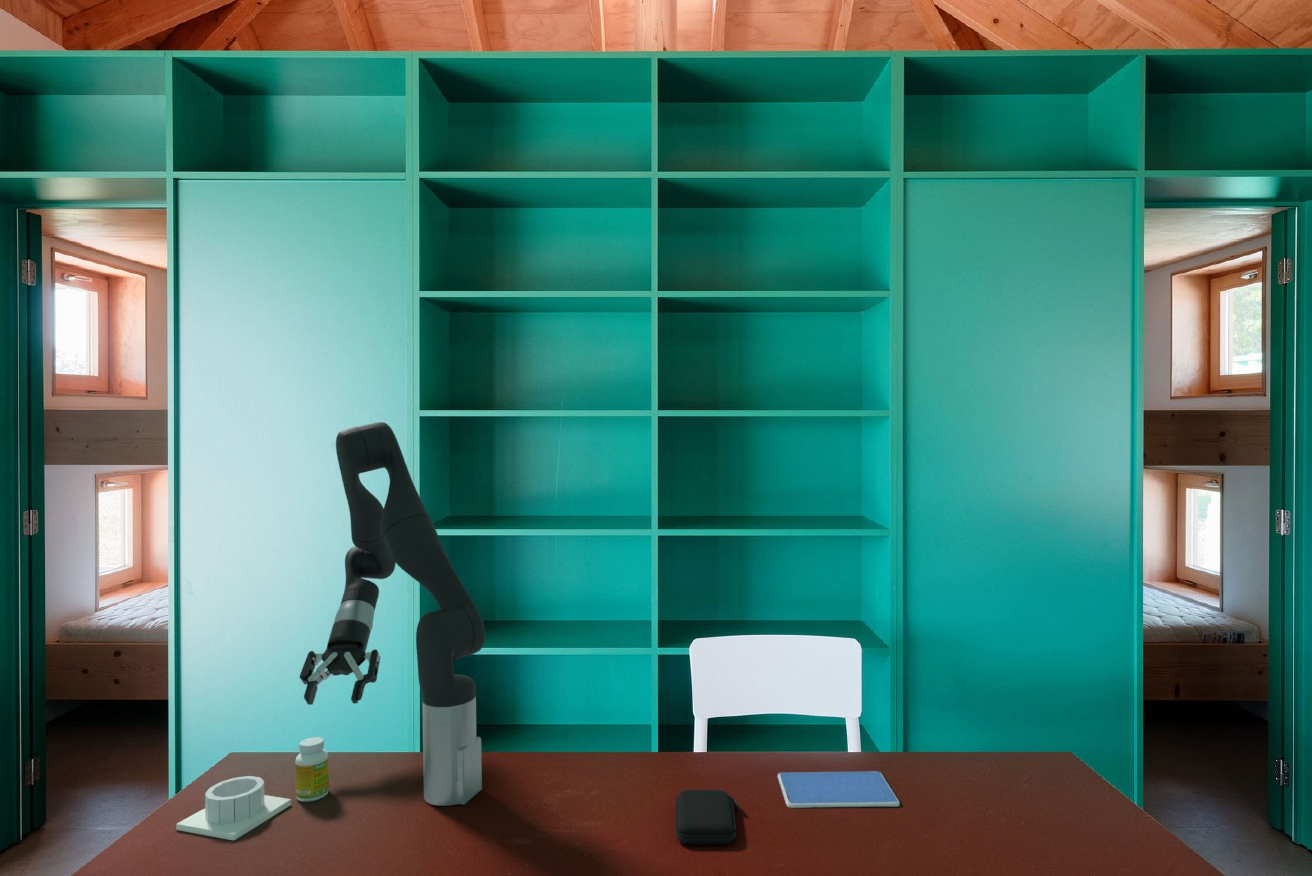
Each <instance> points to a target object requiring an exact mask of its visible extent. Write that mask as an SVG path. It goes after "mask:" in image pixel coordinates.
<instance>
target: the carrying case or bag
mask: <svg viewBox="0 0 1312 876" xmlns="http://www.w3.org/2000/svg"><path fill="white" fill-rule="evenodd" d="M734 807H735V809H736V810H737V811H739V810H740V805H739V803H738V802H737V800H736V799H735V797H733V796H730V794H729V793H728V792H726V791H725V790H723V789H683V790H681V791H680V792H679V793H678V794H677V796H676V798H675V821H674V822H675V825H674V827H675V829H674V831H675V833H674V834H675V837H676V839H677V840H679V842H680V843H681V844H683V845H687V846H688V845H693V846H694V845H695V846H697V845H701V846H702V845H703V846H724V845H725V846H726V845H730V844H731V843H732V842H733V841H734V840H735V839H736V838H737V825H736V818H735V817H736V816H735V809H734Z"/></svg>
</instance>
